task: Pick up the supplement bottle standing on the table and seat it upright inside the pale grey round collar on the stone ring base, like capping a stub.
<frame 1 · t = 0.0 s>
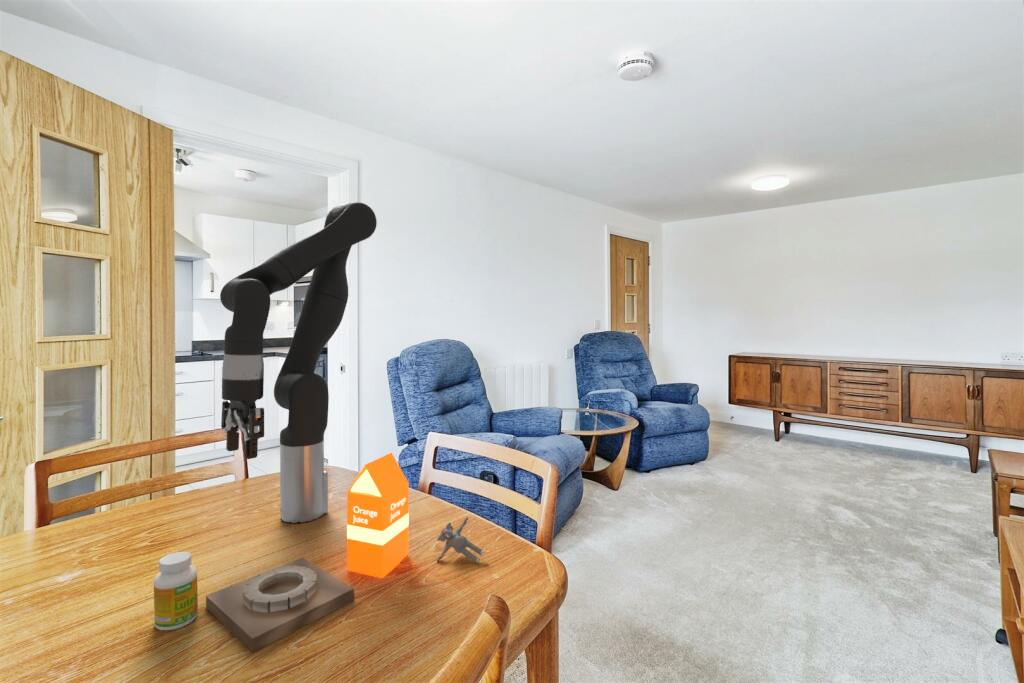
hand: (241, 454, 101), 17 cm above the table, tool pointing down, fingers open, 8 cm apart
supplement bottle: (176, 621, 74), on the table
grey plastic figure: (461, 557, 95), on the table
orange juice: (378, 563, 92), on the table
skull: (377, 533, 105), on the table
stone ring base: (281, 604, 78), on the table
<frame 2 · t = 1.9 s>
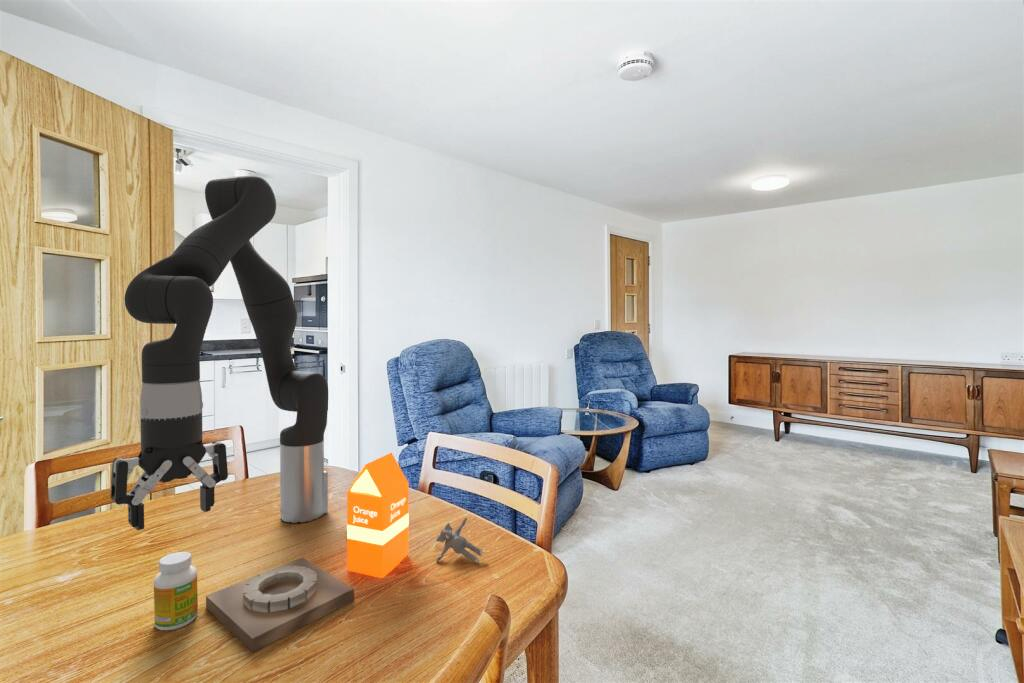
hand: (173, 519, 73), 16 cm above the table, tool pointing down, fingers open, 8 cm apart
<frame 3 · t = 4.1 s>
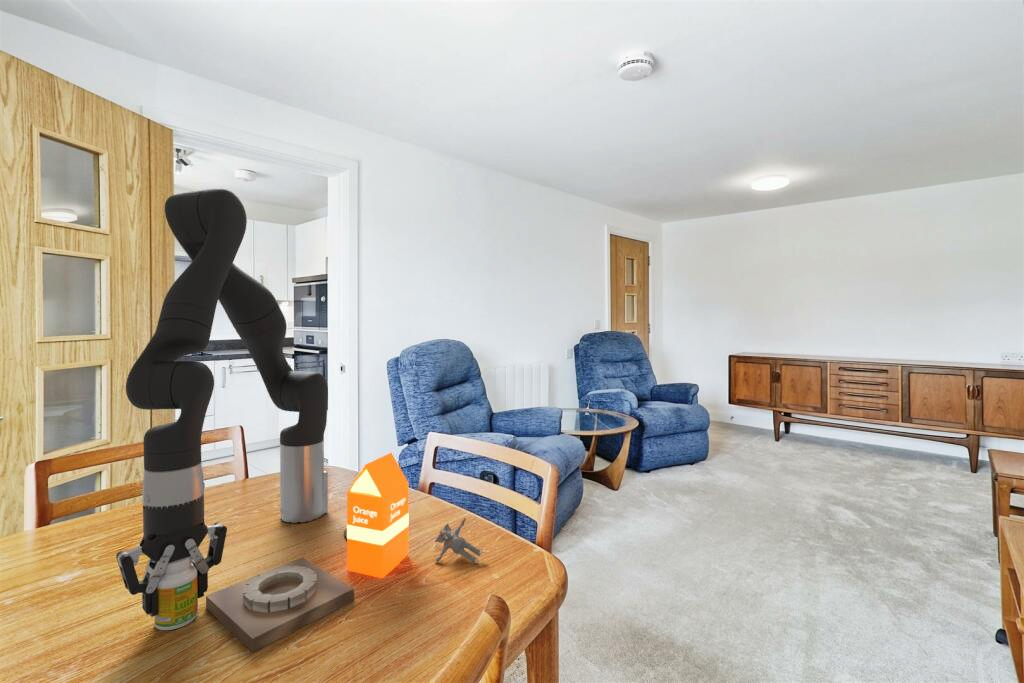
hand: (176, 604, 74), 2 cm above the table, tool pointing down, fingers closed on supplement bottle, 5 cm apart
supplement bottle: (176, 621, 74), on the table, touching gripper
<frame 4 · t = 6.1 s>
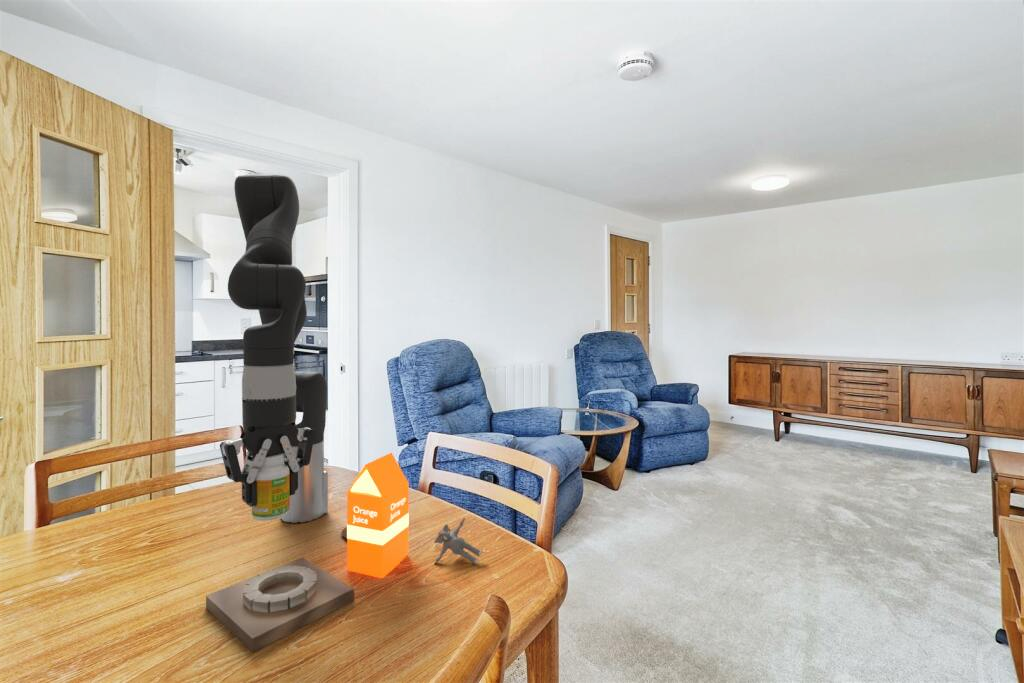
hand: (270, 498, 77), 17 cm above the table, tool pointing down, fingers closed on supplement bottle, 5 cm apart
supplement bottle: (271, 515, 77), point 15 cm above the table, touching gripper
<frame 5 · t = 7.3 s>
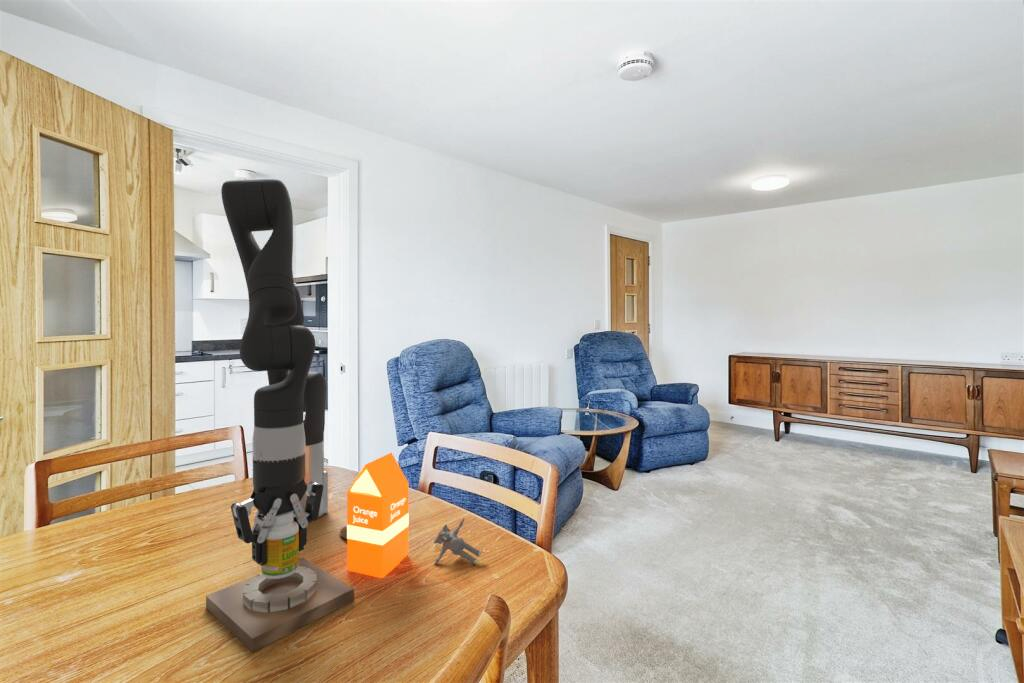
hand: (280, 555, 78), 8 cm above the table, tool pointing down, fingers closed on supplement bottle, 5 cm apart
supplement bottle: (280, 572, 78), point 5 cm above the table, touching gripper
when the fingers open (5 cm above the table, at t = 8.2 s): supplement bottle stays where it is, resting on stone ring base.
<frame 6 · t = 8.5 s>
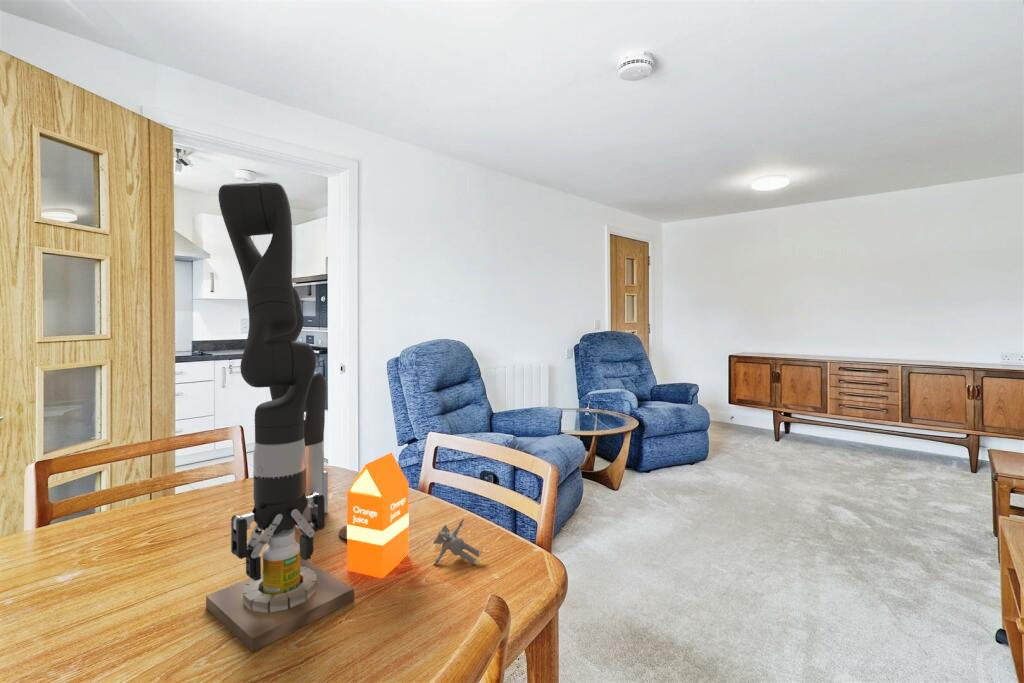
hand: (281, 568, 78), 6 cm above the table, tool pointing down, fingers open, 7 cm apart
supplement bottle: (282, 592, 78), point 2 cm above the table, touching stone ring base
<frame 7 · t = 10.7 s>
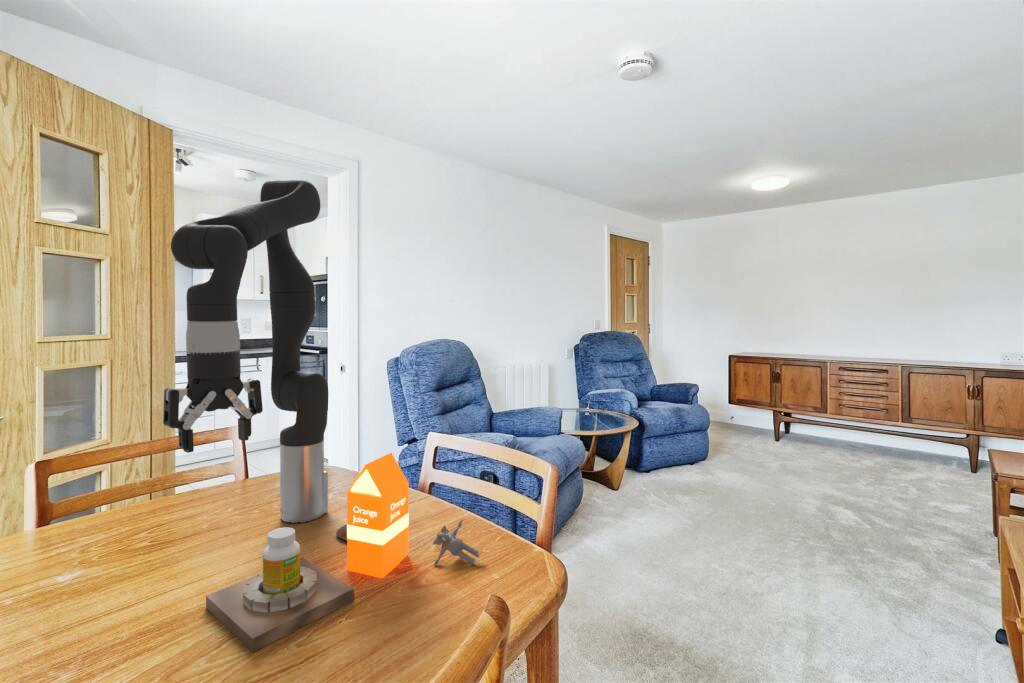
hand: (216, 445, 81), 24 cm above the table, tool pointing down, fingers open, 8 cm apart
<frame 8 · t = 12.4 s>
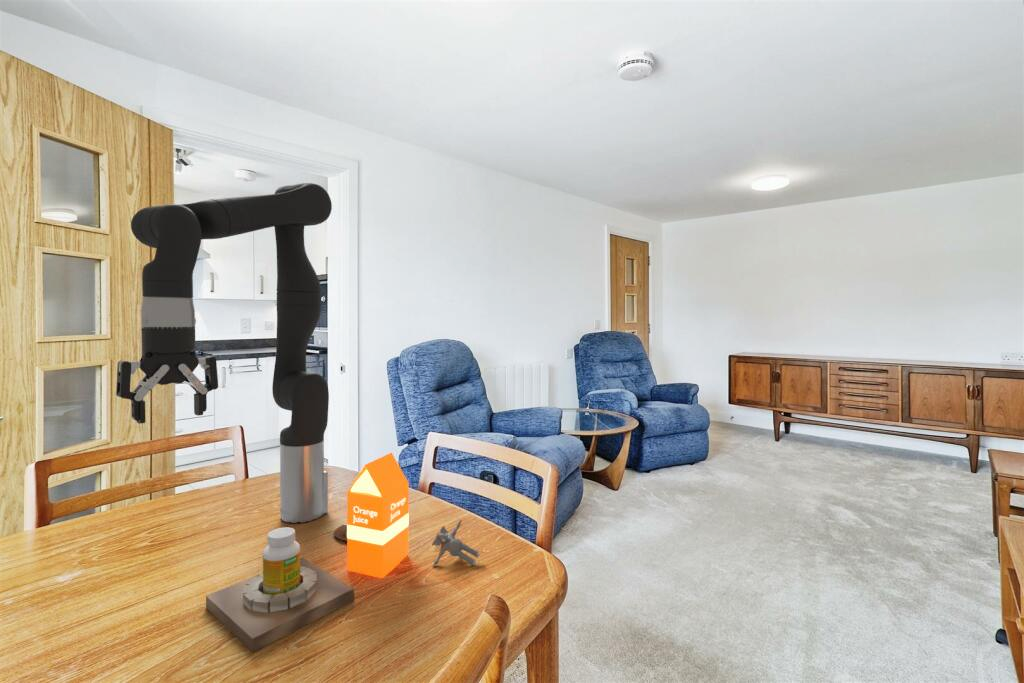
hand: (170, 418, 84), 28 cm above the table, tool pointing down, fingers open, 8 cm apart
at the end: supplement bottle 0.1 cm off-centre on the stone ring base, point 1.8 cm above the stone ring base's base; supplement bottle tilted 0°; the gripper is holding nothing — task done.
